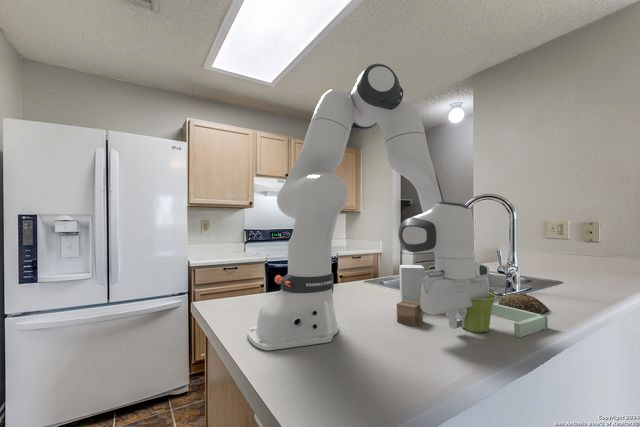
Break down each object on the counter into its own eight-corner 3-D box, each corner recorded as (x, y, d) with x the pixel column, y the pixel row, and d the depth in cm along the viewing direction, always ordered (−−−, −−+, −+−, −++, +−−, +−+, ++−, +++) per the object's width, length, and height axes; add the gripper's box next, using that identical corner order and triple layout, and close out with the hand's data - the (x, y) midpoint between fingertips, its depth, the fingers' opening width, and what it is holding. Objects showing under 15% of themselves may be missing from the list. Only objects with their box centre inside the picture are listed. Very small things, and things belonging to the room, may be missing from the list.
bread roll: (493, 309, 91) (493, 293, 91) (503, 301, 100) (502, 286, 100) (546, 318, 82) (545, 300, 82) (551, 308, 91) (550, 292, 91)
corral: (520, 337, 68) (519, 324, 68) (454, 316, 83) (453, 306, 83) (547, 328, 74) (547, 316, 74) (481, 310, 89) (481, 300, 89)
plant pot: (496, 338, 67) (495, 300, 68) (451, 331, 72) (450, 295, 73) (497, 326, 75) (496, 292, 76) (457, 320, 80) (456, 288, 81)
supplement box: (426, 309, 91) (425, 268, 91) (401, 308, 92) (400, 267, 93) (422, 302, 98) (422, 264, 98) (399, 302, 100) (399, 264, 100)
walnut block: (414, 326, 76) (414, 307, 76) (397, 322, 80) (396, 303, 80) (422, 321, 80) (422, 302, 80) (405, 317, 83) (405, 299, 84)
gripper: (434, 275, 63) (436, 340, 63) (493, 267, 73) (495, 323, 72) (413, 271, 69) (414, 330, 69) (470, 264, 78) (471, 316, 78)
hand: (456, 327), depth 71 cm, fingers closed
